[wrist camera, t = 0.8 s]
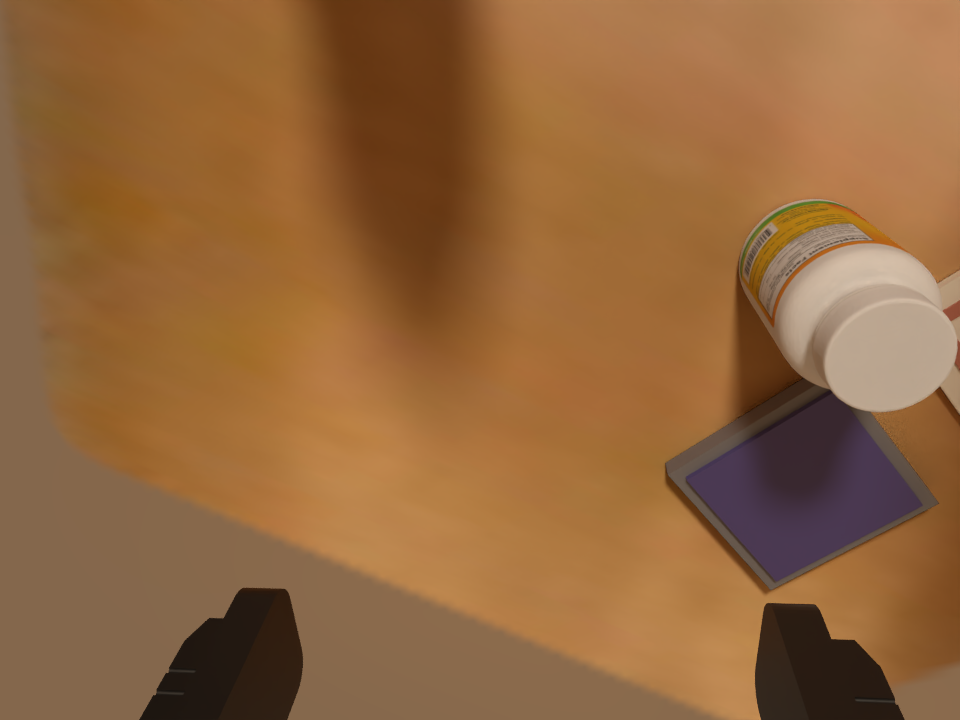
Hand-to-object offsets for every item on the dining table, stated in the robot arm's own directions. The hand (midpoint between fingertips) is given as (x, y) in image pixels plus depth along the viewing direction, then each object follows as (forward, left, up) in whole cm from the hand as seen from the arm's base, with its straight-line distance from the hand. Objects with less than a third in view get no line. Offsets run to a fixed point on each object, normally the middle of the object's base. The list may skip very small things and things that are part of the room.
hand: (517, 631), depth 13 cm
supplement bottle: (-8, +8, -23) cm, 25 cm away
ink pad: (-2, +17, -23) cm, 28 cm away
